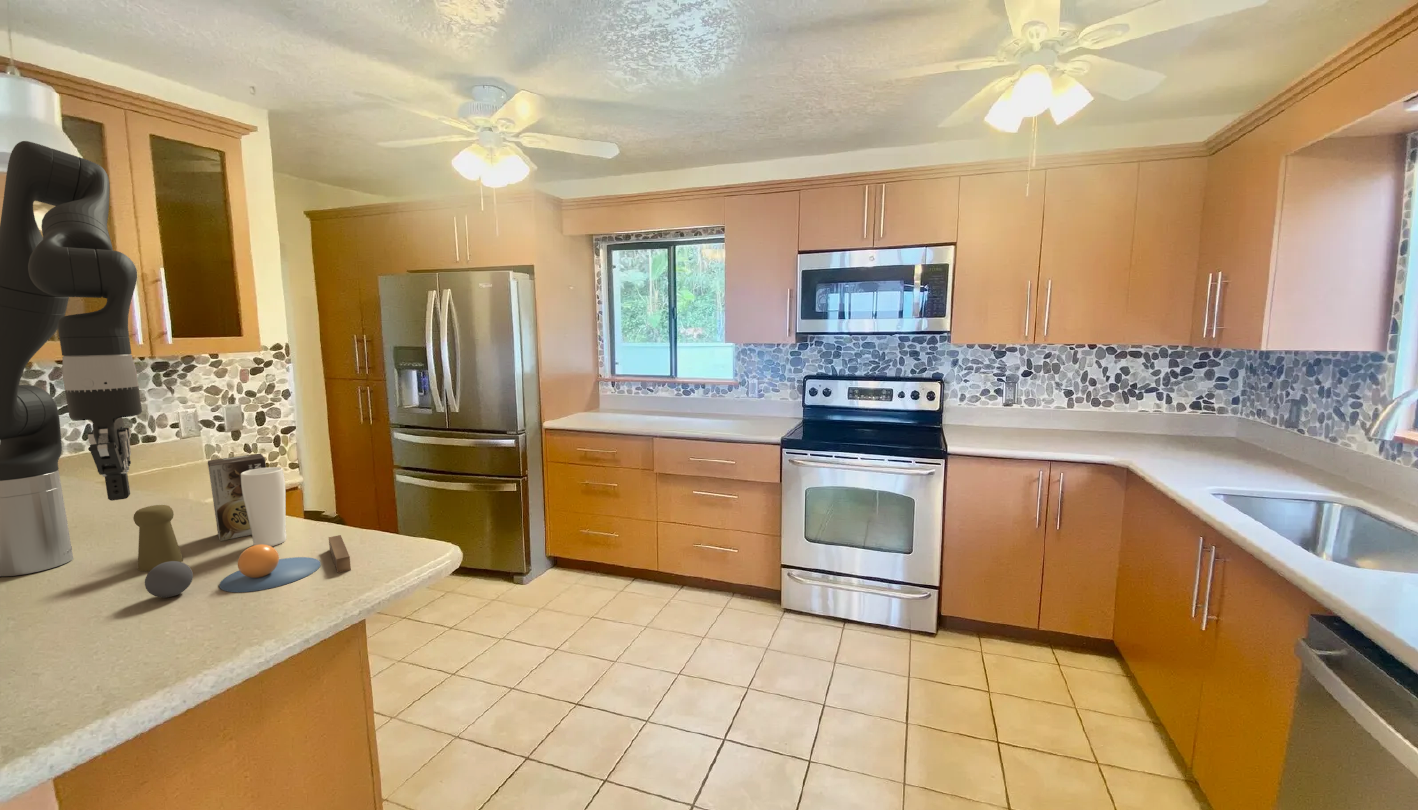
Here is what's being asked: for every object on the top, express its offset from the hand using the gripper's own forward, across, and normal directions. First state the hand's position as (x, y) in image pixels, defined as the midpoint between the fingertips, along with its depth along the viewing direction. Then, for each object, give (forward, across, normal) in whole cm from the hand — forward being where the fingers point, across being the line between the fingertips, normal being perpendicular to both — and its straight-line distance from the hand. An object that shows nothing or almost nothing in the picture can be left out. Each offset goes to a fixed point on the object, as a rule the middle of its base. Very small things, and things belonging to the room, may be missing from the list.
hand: (119, 498), depth 86 cm
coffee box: (+17, +31, -13) cm, 38 cm away
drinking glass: (+17, +19, -17) cm, 31 cm away
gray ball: (+14, 0, -4) cm, 15 cm away
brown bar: (+17, 0, -27) cm, 32 cm away
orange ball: (+14, 0, -15) cm, 21 cm away
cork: (+17, +19, -1) cm, 26 cm away
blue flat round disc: (+17, 0, -17) cm, 24 cm away
